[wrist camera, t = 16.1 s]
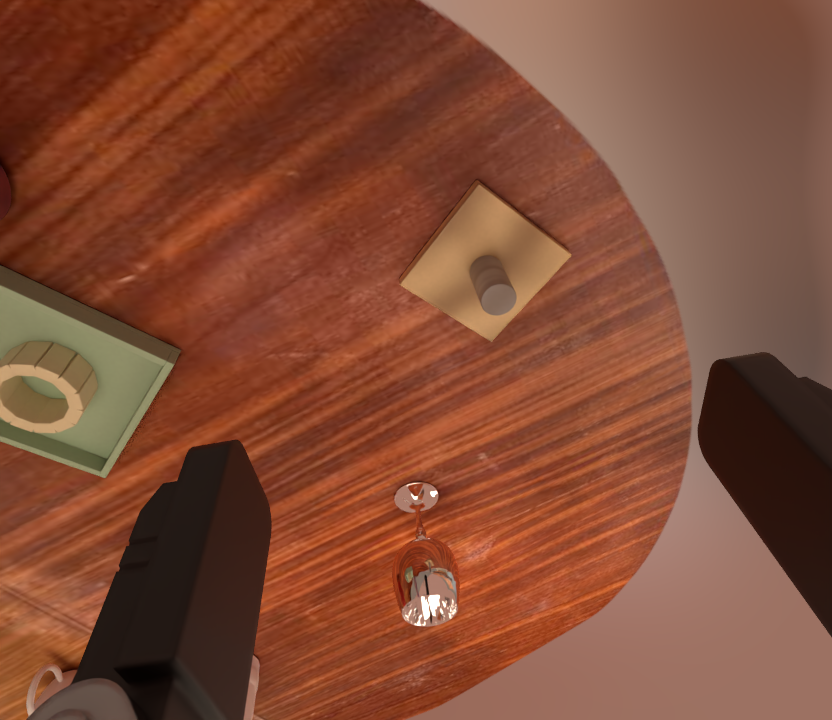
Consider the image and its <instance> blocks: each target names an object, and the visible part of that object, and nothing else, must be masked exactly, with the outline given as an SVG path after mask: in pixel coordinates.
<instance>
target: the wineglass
mask: <svg viewBox="0 0 832 720" xmlns="http://www.w3.org/2000/svg"><path fill="white" fill-rule="evenodd" d="M438 498H439V493H438V491H437V489H436V488H435V487H434V486H433V485H431V484H429V483H425V482H412V483H408V484H406V485H404V486H402V487H401V488H399V489H398V490H397V492H396V493H395V496H394V502H395V504H396V506H397V507H398V508H399V509H401V510H403V511H405V512H410V513H416V518H417V530H416V539H415V540H412V541H410V542H408V543H407V544H405V545H404V546H403V547H402V548H401V549H400V550H399V551H398V553H397V555H396V556H395V559H394V563H393V569H392V579H393V587H394V591H395V595H396V599H397V602H398V606H399V609H400V611H401V613H402V616H403V618H404V620H405V621H407V622H408V623H410V624H413V625H416V626H435V625H439V624H442V623H445V622H447V621H448V620H450V619H451V618H453V617H454V616H455V614H456V613H457V610H458V604H459V590H460V580H459V571H458V565H457V562H456V559H455V556H454V554H453V552H452V551H451V550H450V548H449V547H448V546H447V545H446V544H444V543H443V542H441V541H439V540H436V539H432V538H426V532H425V529H424V528H423V525H422V520H421V512H423V511H426V510H428V509H430V508H432V507H433V506H434V505H435V504H436V503H437V501H438Z"/></svg>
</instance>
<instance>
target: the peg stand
mask: <svg viewBox="0 0 832 720" xmlns="http://www.w3.org/2000/svg"><path fill="white" fill-rule="evenodd" d="M571 256H572V255H571V253H570V252H569V251H568V249H566V248H565V247H564V246H562V245H561V244H560V243H558V242H557V241H556V240H555V239H553V238H552V237H551V236H549V235H548V234H547V233H545V232H544V231H543V230H542V229H540V228H539V227H538V226H536V225H535V224H534V223H532V222H531V221H530V220H529V219H527V218H526V217H525V216H523V215H522V214H521V213H519V212H518V211H517V210H516V209H514V208H513V207H512V206H510V205H509V204H508V203H506V202H505V201H504V200H503V199H501V198H500V197H499V196H497V195H496V194H495V193H493V192H492V191H491V190H490V189H488V188H487V187H486V186H484V185H483V184H482V183H480V182H479V181H478V180H476V181H475V182H474V183H473V185H472V186H471V187H470V188H469V190H468V191H467V192H466V194H465V195H464V196H463V197H462V199H461V200H460V201H459V203H458V204H457V205H456V206H455V208H454V209H453V210H452V212H451V213H450V214H449V215H448V217H447V218H446V219H445V221H444V222H443V223H442V224H441V226H440V227H439V228H438V229H437V231H436V232H435V233H434V235H433V236H432V237H431V238H430V240H429V241H428V242H427V244H426V245H425V246H424V247H423V249H422V250H421V251H420V253H419V254H418V255H417V256H416V258H415V259H414V260H413V262H412V263H411V264H410V265H409V267H408V268H407V269H406V270H405V272H404V273H403V274H402V276H401V277H400V278H399V283H400V285H401V286H402V287H404V288H405V289H407V290H409V291H410V292H412V293H413V294H415V295H417V296H418V297H420V298H422V299H423V300H425V301H426V302H428V303H430V304H431V305H433V306H434V307H436V308H438V309H439V310H441V311H442V312H444V313H446V314H447V315H449V316H450V317H452V318H454V319H455V320H457V321H459V322H460V323H462V324H463V325H465V326H467V327H468V328H470V329H471V330H473V331H475V332H476V333H478V334H479V335H481V336H483V337H484V338H486V339H488V340H489V341H492V340H493V339H494V338H495V337H496V336H497V335H498V334H499V333H500V332H501V331H502V330H503V329H504V328H505V327H506V325H507V324H508V323H509V322H510V321H511V320H512V319H513V318H514V317H515V316H516V315H517V314H518V313H519V312H520V310H521V309H522V308H523V307H524V306H525V305H526V304H527V303H528V302H529V301H530V300H531V299H532V298H533V296H534V295H535V294H536V293H537V292H538V291H539V290H540V289H541V288H542V287H543V286H544V285H545V284H546V283H547V281H548V280H549V279H550V278H551V277H552V276H553V275H554V274H555V273H556V272H557V271H558V270H559V269H560V268H561V266H562V265H563V264H564V263H565V262H566V261H567V260H568V259H569V258H570V257H571Z"/></svg>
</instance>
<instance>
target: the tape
mask: <svg viewBox="0 0 832 720" xmlns="http://www.w3.org/2000/svg"><path fill="white" fill-rule="evenodd" d="M75 354H76V352H75V351H73V350H70V349H68V348H66V347H64V346H61V345H59V344H57V343H54V344H53V342H42V341H29V342H28V341H27V342H25V343H23V344H21V345H19V346H16V347H14V348H12V349H11V350H10V351H9V352H8V353H7V354H6V355H5V356H4V357H3V358H2V359H1V361H0V417H1V418H2V419H3V420H5V421H6V422H7V423H8V422H10V421H11V422H10V425H13V426H16V427H19V428H21V429H24V430H27V431H29V432H33V430H34V432H35V433H56V432H58V433H59V432H62V431H64V430H66V429H69V428H71V427H73V426H75V425H76V424H77V423H78V421H79V420H80V418H81V417H82V415H83V413H84V412H85V410H86V408H87V407H88V405H89V403H90V402H91V400H92V398H93V397H94V395H95V393H96V391H97V389H98V383H97V379H96V375H95V371H94V370H92V369H93V367H92V366H91V365H90V364H89V363H88V362H87V361H86V360H85V359H84V358H83V357H82V356H81V355H80V354H76V355H75ZM21 376H36V377H38V378H41V379H43V380H45V381H48V382H50V383H52V384H54V385H55V386H56V387H57V388H58V389H59V390H60V391H61V392H62V393H63V394H64V395H65V396H66V399H51V398H49V397H46V396H44V395H41V394H39V393H36V392H34V391H33V390H32V389H31V388H30V387H29V386H28V385H26V384H25V383H24V382H23V380H22V377H21Z"/></svg>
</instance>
